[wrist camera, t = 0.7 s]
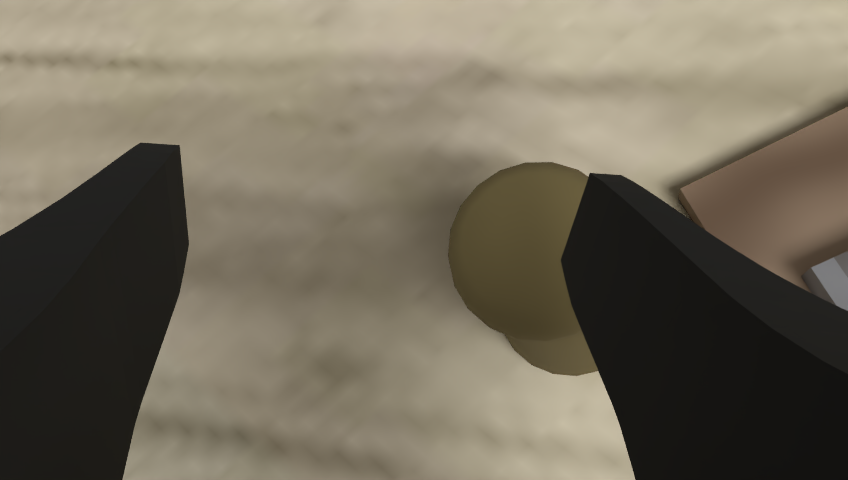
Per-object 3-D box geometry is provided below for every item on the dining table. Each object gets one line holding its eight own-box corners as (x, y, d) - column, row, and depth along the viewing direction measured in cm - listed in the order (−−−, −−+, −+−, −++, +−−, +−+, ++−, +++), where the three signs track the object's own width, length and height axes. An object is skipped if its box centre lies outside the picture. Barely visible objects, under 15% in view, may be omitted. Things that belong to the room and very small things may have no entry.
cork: (573, 205, 28) (538, 88, 18) (676, 308, 26) (702, 240, 16) (470, 297, 29) (379, 232, 19) (562, 406, 26) (516, 400, 16)
